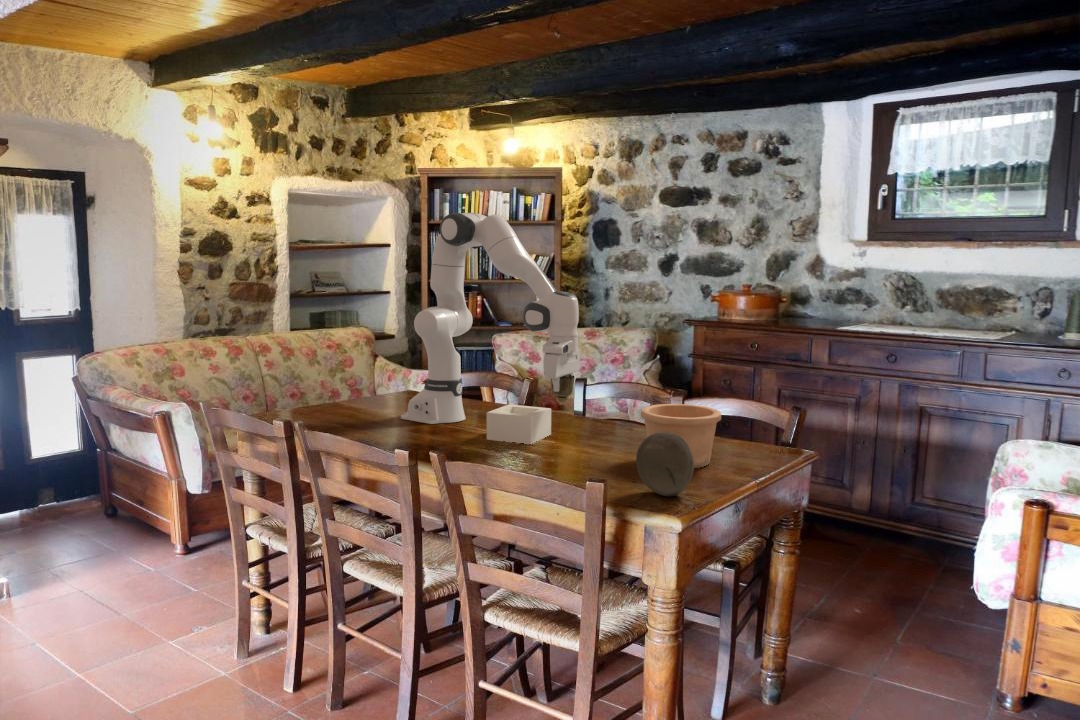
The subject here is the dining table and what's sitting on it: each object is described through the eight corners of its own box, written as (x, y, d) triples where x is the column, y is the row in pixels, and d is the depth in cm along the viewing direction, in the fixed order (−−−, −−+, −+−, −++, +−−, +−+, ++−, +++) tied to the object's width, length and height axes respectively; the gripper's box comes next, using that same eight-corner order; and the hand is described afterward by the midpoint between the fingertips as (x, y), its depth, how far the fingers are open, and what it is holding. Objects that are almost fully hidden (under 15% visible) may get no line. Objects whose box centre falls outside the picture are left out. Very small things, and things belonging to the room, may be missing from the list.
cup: (545, 401, 252) (546, 376, 251) (556, 398, 259) (557, 373, 258) (567, 404, 249) (568, 378, 248) (578, 400, 255) (578, 375, 254)
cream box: (486, 439, 253) (486, 412, 252) (508, 430, 267) (508, 404, 266) (530, 444, 247) (530, 416, 246) (551, 434, 261) (551, 408, 260)
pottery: (665, 448, 244) (666, 400, 242) (733, 460, 230) (735, 410, 228) (624, 462, 227) (625, 411, 225) (695, 476, 213) (697, 422, 212)
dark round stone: (702, 492, 200) (705, 431, 198) (678, 507, 188) (679, 442, 186) (650, 482, 208) (652, 424, 206) (623, 496, 196) (624, 434, 194)
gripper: (567, 340, 262) (565, 383, 264) (540, 347, 244) (538, 393, 246) (585, 342, 259) (584, 385, 261) (559, 349, 241) (558, 395, 243)
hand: (562, 389), depth 253 cm, fingers closed on cup, 6 cm apart
